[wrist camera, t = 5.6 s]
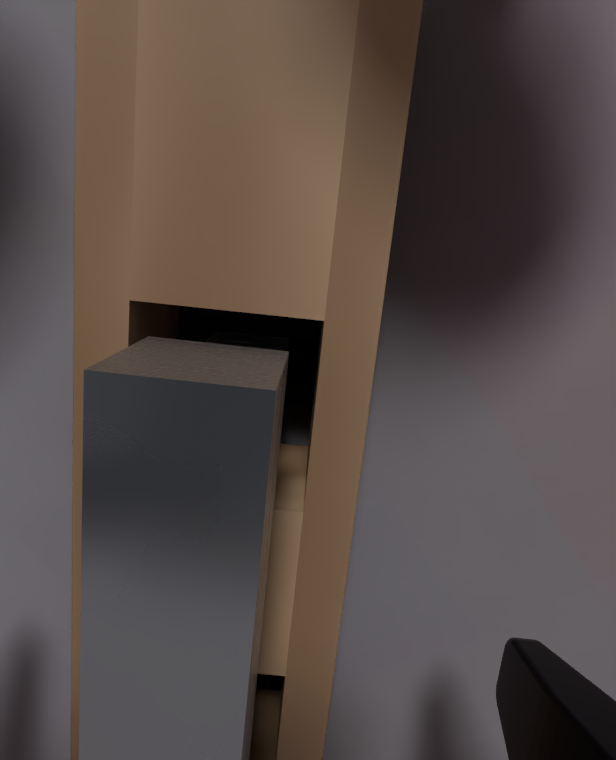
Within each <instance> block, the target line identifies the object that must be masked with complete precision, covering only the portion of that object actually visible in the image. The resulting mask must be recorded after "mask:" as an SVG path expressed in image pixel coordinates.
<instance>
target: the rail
mask: <svg viewBox="0 0 616 760" xmlns="http://www.w3.org/2000/svg"><path fill="white" fill-rule="evenodd" d="M422 7H423V0H76V45H75V195H74V344H73V494H72V644H71V760H79V705H80V626H81V547H82V468H83V389H84V369H86V368H88V367H90V366H92V365H94V364H96V363H98V362H100V361H102V360H104V359H106V358H108V357H109V356H111V355H113V354H115V353H117V352H119V351H121V350H123V349H125V348H127V347H129V346H131V345H133V344H135V343H136V342H138V341H140V340H142V339H144V338H146V337H148V336H150V337H160V338H169V339H178V326H179V306H188V307H198V308H207V309H217V310H226V311H236V312H245V313H255V314H264V315H274V316H283V317H292V318H302V319H311V320H321V321H322V323H321V333H320V342H319V351H318V360H317V369H316V379H315V388H314V397H313V406H312V415H311V425H310V434H309V443H308V446H302V445H292V444H283V443H280V450H279V460H278V470H277V481H276V491H275V501H274V511H273V521H272V531H271V542H270V552H269V562H268V572H267V582H266V593H265V603H264V613H263V623H262V633H261V644H260V654H259V664H258V674H267V675H277V676H283V682H282V691H280V690H270V689H261V688H256V695H255V705H254V715H253V725H252V735H251V746H250V756H249V760H323V752H324V745H325V737H326V730H327V722H328V715H329V707H330V699H331V692H332V684H333V677H334V669H335V662H336V654H337V647H338V639H339V632H340V624H341V617H342V609H343V602H344V594H345V587H346V579H347V572H348V564H349V557H350V549H351V541H352V534H353V526H354V519H355V511H356V504H357V496H358V489H359V481H360V474H361V466H362V459H363V451H364V444H365V436H366V429H367V421H368V414H369V406H370V399H371V391H372V384H373V376H374V368H375V361H376V353H377V346H378V338H379V331H380V323H381V316H382V308H383V301H384V293H385V286H386V278H387V271H388V263H389V256H390V248H391V241H392V233H393V226H394V218H395V211H396V203H397V195H398V188H399V180H400V173H401V165H402V158H403V150H404V143H405V135H406V128H407V120H408V113H409V105H410V98H411V90H412V83H413V75H414V68H415V60H416V53H417V45H418V37H419V30H420V22H421V15H422Z"/></svg>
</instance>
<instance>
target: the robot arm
mask: <svg viewBox="0 0 616 760" xmlns="http://www.w3.org/2000/svg"><path fill="white" fill-rule="evenodd" d="M496 700H497V706H498V711H499V716H500V720H501V725H502V730H503V734H504V739H505V744H506V748H507V753H508V758H509V760H616V701H615V700H613V699H612V698H611V697H610V696H608V695H607V694H606V693H605V692H603V691H602V690H601V689H599V688H598V687H597V686H596V685H594V684H593V683H592V682H591V681H589V680H588V679H587V678H585V677H584V676H583V675H582V674H580V673H579V672H578V671H576V670H575V669H574V668H573V667H571V666H570V665H569V664H568V663H566V662H565V661H564V660H562V659H561V658H560V657H559V656H557V655H556V654H555V653H554V652H552V651H551V650H550V649H548V648H547V647H546V646H545V645H543V644H542V643H541V642H539V641H537V640H532V639H523V638H510V639H509V640H508V641H507V643H506V645H505V648H504V652H503V657H502V662H501V666H500V671H499V676H498V681H497V686H496Z"/></svg>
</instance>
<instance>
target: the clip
mask: <svg viewBox="0 0 616 760" xmlns="http://www.w3.org/2000/svg"><path fill="white" fill-rule="evenodd" d="M288 343H289V338H281V337H272V336H262V335H253V334H244V333H235V332H225V331H218V332H216V333H215V334H214V335H213V336H211V337H210V338H209V339H208V340H206V341H205V342H197V341H187V340H178V339H169V338H160V337H150V336H148V337H146V338H144V339H142V340H140V341H138V342H136V343H135V344H133V345H131V346H129V347H127V348H125V349H123V350H121V351H119V352H117V353H115V354H113V355H111V356H109V357H108V358H106V359H104V360H102V361H100V362H98V363H96V364H94V365H92V366H90V367H88V368H86V369H84V389H83V468H82V547H81V626H80V705H79V760H249V756H250V746H251V735H252V725H253V715H254V705H255V695H256V684H257V674H258V664H259V654H260V644H261V633H262V623H263V613H264V603H265V593H266V582H267V572H268V562H269V552H270V542H271V531H272V521H273V511H274V501H275V491H276V481H277V470H278V460H279V450H280V440H281V430H282V419H283V409H284V399H285V389H286V379H287V368H288V358H289V351H288Z"/></svg>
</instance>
